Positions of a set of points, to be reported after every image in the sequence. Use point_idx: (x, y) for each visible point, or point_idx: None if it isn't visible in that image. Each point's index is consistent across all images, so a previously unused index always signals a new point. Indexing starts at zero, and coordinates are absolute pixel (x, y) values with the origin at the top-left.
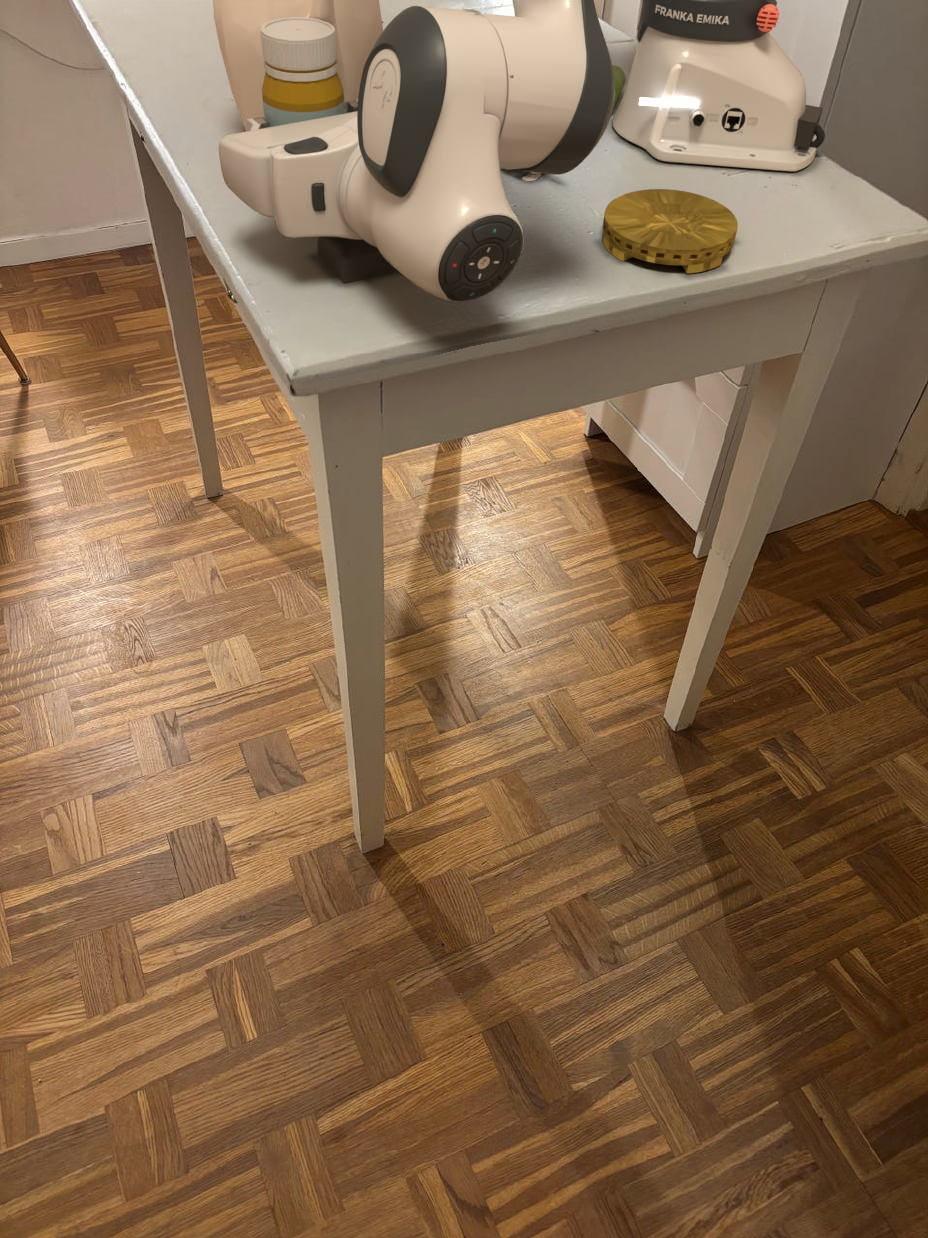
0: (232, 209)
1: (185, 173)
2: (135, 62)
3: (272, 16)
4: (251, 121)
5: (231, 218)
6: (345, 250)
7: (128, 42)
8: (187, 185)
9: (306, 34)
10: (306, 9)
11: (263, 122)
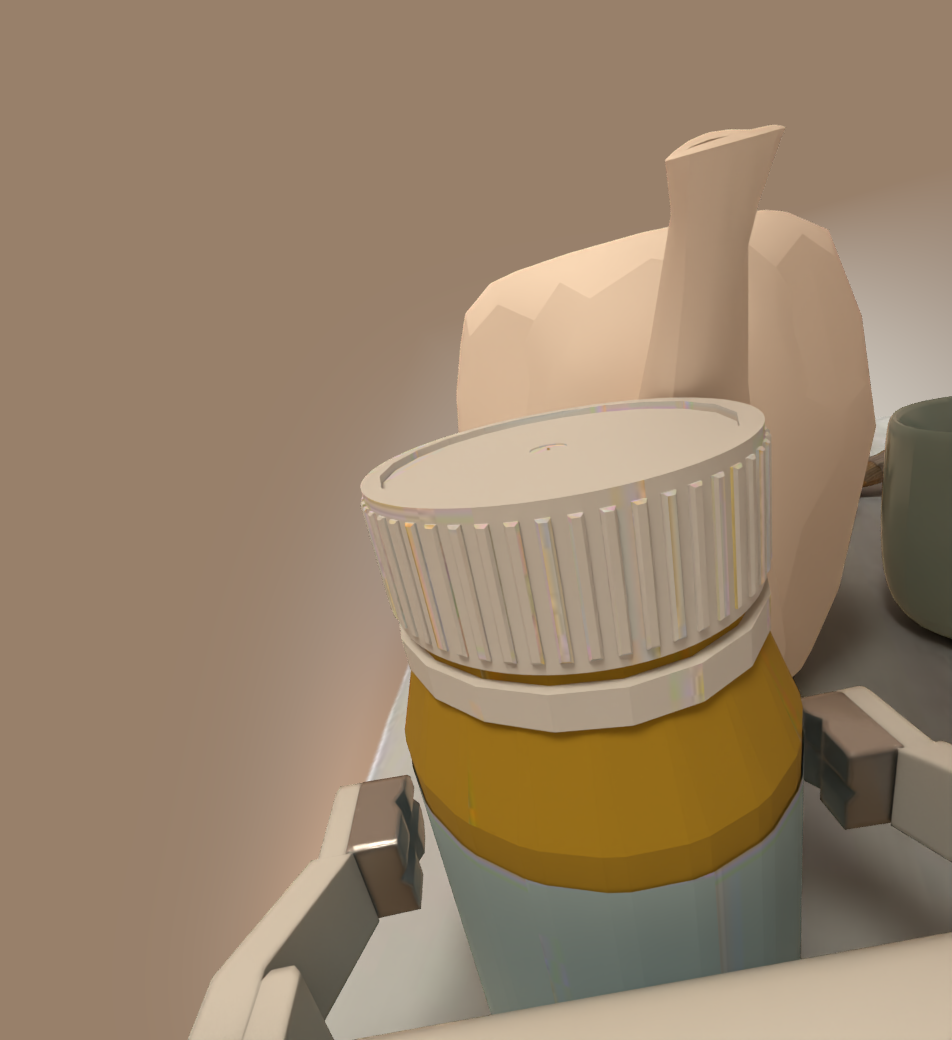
0: (399, 916)
1: (399, 718)
2: None
3: None
4: (333, 820)
5: (367, 983)
6: None
7: None
8: (375, 763)
9: (577, 463)
10: (638, 393)
11: (371, 841)
